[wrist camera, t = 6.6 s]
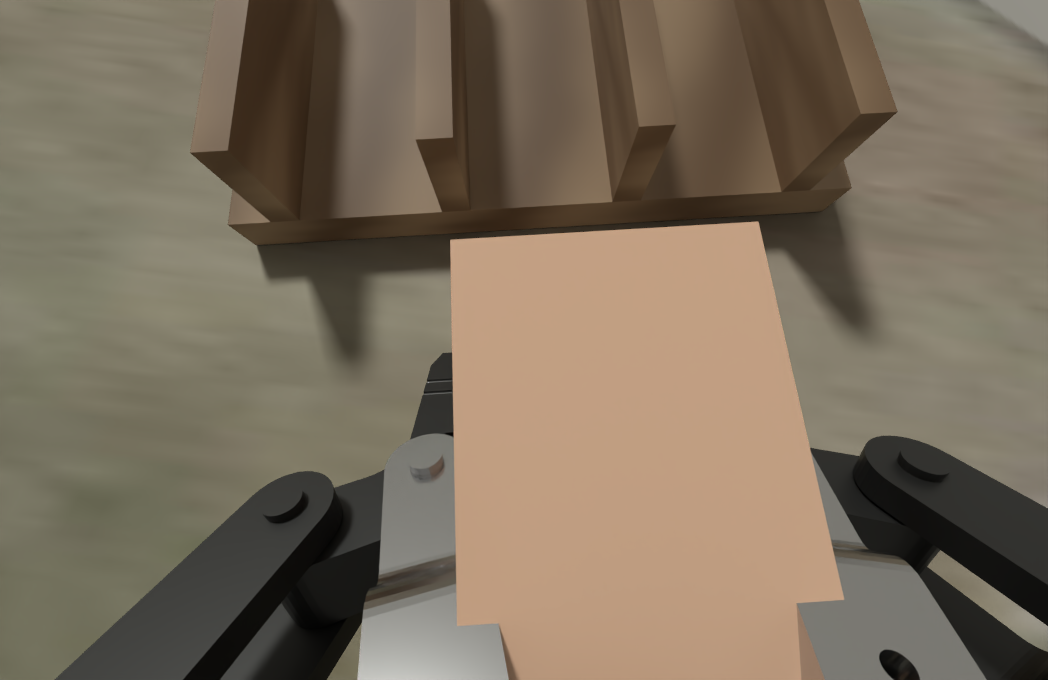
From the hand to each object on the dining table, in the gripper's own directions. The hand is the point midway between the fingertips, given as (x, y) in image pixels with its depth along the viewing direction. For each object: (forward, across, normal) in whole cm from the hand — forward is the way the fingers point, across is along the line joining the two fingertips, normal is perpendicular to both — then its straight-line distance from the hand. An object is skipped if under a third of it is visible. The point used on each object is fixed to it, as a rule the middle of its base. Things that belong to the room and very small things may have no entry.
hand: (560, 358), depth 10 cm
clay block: (+1, 0, +4) cm, 5 cm away
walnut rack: (+11, 0, -6) cm, 13 cm away
